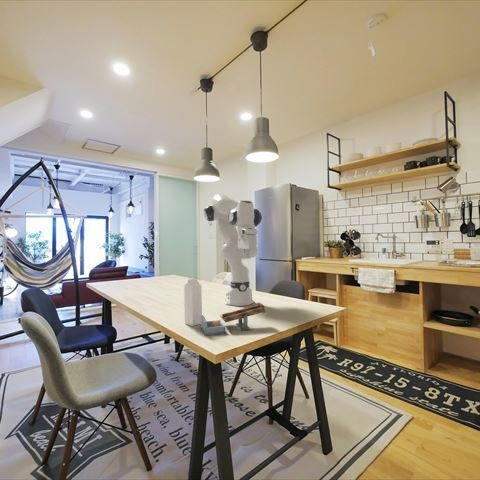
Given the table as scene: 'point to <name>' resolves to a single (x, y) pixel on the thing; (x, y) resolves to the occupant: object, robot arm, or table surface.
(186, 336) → the table surface
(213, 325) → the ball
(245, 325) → the pivot stand
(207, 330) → the light blue open box
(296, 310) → the table surface
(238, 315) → the lever
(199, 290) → the milk
